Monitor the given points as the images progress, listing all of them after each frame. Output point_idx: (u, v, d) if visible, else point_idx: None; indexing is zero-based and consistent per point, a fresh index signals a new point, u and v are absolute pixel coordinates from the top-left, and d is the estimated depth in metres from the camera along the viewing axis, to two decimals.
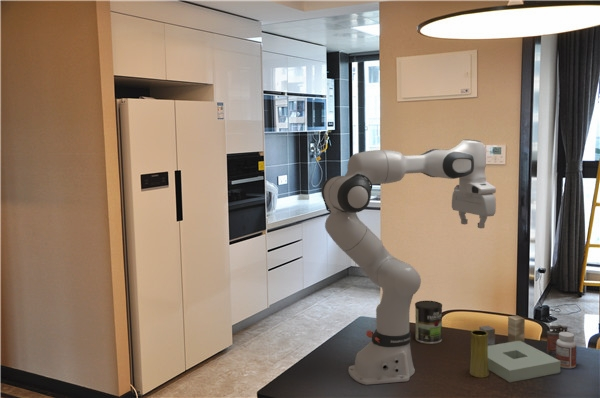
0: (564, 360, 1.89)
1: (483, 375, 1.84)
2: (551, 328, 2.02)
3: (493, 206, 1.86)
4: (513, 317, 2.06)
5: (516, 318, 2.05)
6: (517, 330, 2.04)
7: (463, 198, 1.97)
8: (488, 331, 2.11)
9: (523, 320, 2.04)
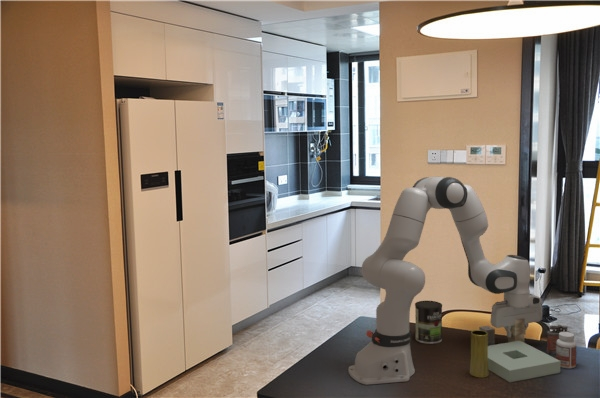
0: (564, 360, 1.89)
1: (483, 375, 1.84)
2: (551, 328, 2.02)
3: None
4: None
5: None
6: (517, 330, 2.04)
7: (511, 313, 2.03)
8: (488, 331, 2.11)
9: (523, 320, 2.04)
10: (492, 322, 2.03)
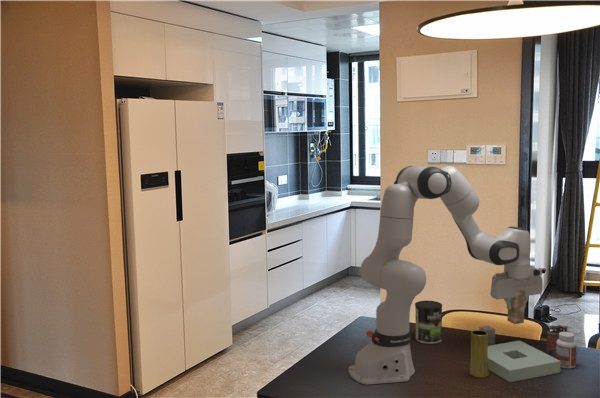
0: (564, 360, 1.89)
1: (483, 375, 1.84)
2: (551, 328, 2.02)
3: None
4: None
5: None
6: (517, 303, 2.03)
7: (512, 285, 2.02)
8: (488, 331, 2.11)
9: (523, 292, 2.03)
10: (492, 294, 2.02)
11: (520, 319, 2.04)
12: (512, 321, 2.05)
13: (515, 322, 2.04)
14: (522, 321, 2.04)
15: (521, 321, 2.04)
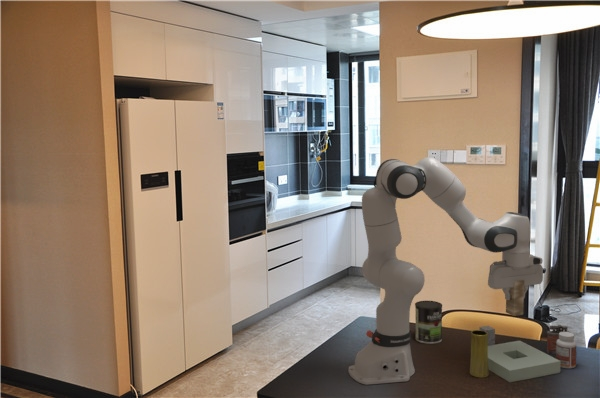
0: (564, 360, 1.89)
1: (483, 375, 1.84)
2: (551, 328, 2.02)
3: None
4: None
5: None
6: (516, 293, 1.91)
7: (510, 274, 1.90)
8: (488, 331, 2.11)
9: (523, 282, 1.91)
10: (490, 283, 1.90)
11: (519, 311, 1.92)
12: (511, 312, 1.93)
13: (514, 313, 1.92)
14: (521, 312, 1.93)
15: (520, 312, 1.92)
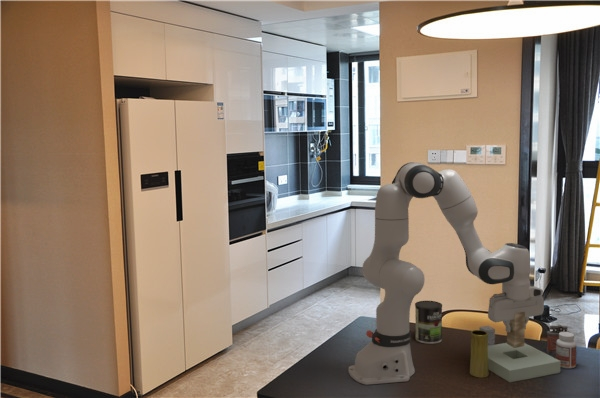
0: (564, 360, 1.89)
1: (483, 375, 1.84)
2: (551, 328, 2.02)
3: None
4: None
5: None
6: (516, 325, 1.89)
7: (511, 306, 1.88)
8: (488, 331, 2.11)
9: (523, 314, 1.89)
10: (490, 316, 1.88)
11: (520, 343, 1.90)
12: (512, 344, 1.91)
13: (515, 346, 1.90)
14: (522, 344, 1.91)
15: (521, 344, 1.90)
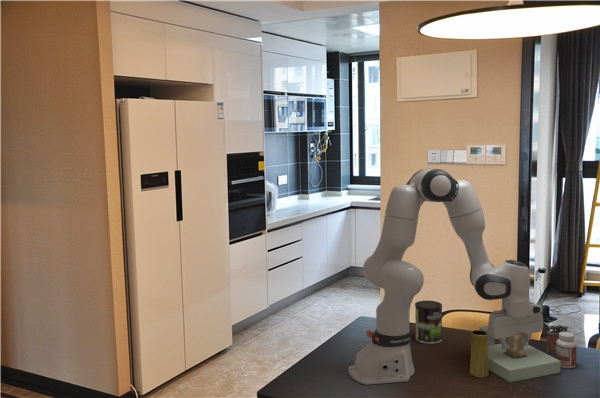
0: (564, 360, 1.89)
1: (483, 375, 1.84)
2: (551, 328, 2.02)
3: None
4: None
5: None
6: (516, 346, 1.89)
7: (510, 323, 1.89)
8: None
9: (523, 335, 1.90)
10: (489, 333, 1.89)
11: None
12: None
13: None
14: None
15: None
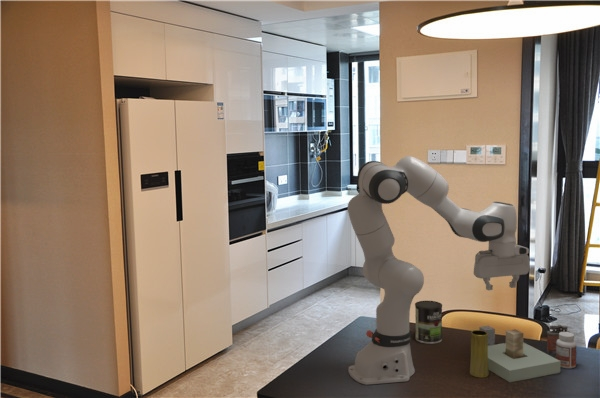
0: (564, 360, 1.89)
1: (483, 375, 1.84)
2: (551, 328, 2.02)
3: None
4: (511, 331, 1.92)
5: (514, 332, 1.91)
6: (515, 346, 1.90)
7: (496, 263, 1.90)
8: (488, 331, 2.11)
9: (522, 335, 1.90)
10: (475, 272, 1.90)
11: None
12: None
13: None
14: None
15: None
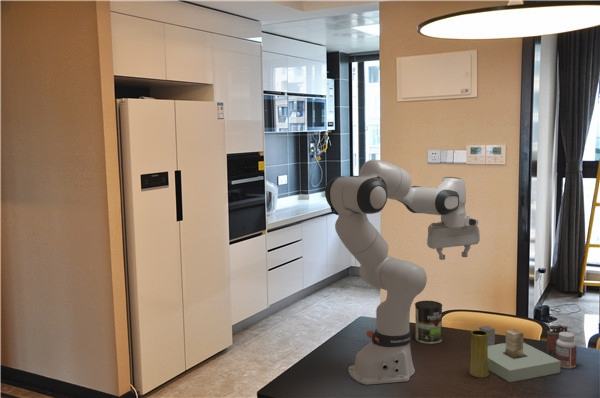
0: (564, 360, 1.89)
1: (483, 375, 1.84)
2: (551, 328, 2.02)
3: None
4: (511, 331, 1.92)
5: (514, 332, 1.91)
6: (515, 346, 1.90)
7: (448, 234, 2.03)
8: (488, 331, 2.11)
9: (522, 335, 1.90)
10: (428, 243, 2.03)
11: None
12: None
13: None
14: None
15: None
